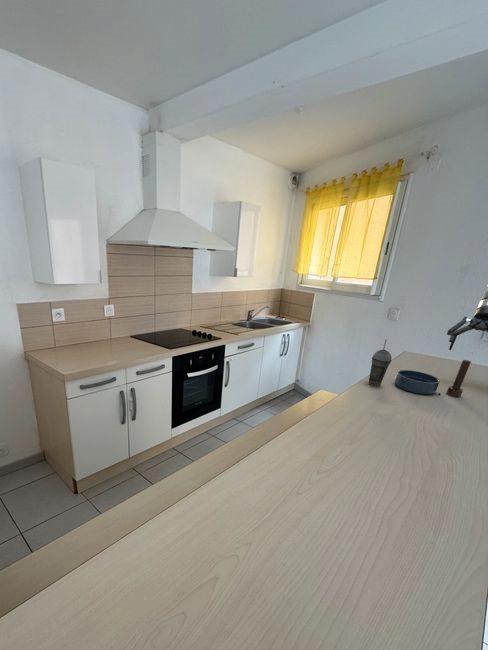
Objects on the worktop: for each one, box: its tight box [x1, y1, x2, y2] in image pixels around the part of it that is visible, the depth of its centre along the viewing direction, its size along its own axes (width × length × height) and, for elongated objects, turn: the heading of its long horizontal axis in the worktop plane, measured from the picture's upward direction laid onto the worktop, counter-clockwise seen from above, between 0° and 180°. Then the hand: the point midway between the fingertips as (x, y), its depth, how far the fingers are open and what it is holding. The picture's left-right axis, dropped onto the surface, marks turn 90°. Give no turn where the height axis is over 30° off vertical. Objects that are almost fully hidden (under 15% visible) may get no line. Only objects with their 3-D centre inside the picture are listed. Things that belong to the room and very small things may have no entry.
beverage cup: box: [368, 338, 392, 387], centre depth 137 cm, size 7×7×20 cm
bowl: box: [393, 369, 441, 395], centre depth 138 cm, size 15×15×6 cm
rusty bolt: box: [445, 359, 472, 398], centre depth 131 cm, size 5×5×15 cm
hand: (470, 352), depth 134 cm, fingers open, 13 cm apart
